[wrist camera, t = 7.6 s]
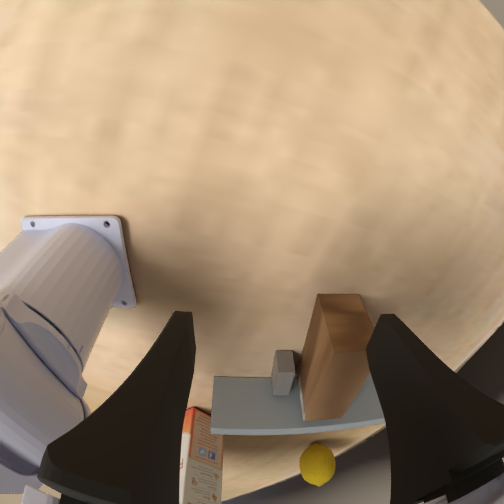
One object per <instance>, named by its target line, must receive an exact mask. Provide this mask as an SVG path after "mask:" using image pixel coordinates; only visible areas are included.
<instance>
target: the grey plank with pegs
mask: <svg viewBox="0 0 504 504" xmlns="http://www.w3.org/2000/svg"><path fill="white" fill-rule="evenodd" d="M294 375H295V367H294V360H293V353H292V351H276V353H275V359H274V364H273V369H272V375H271V376H272V378H244V377H217V376H214V384H213V397H212V411H211V426H210V428H211V434H223V435H287V434H305V433H317V432H328V431H337V430H345V429H352V428H359V427H365V426H371V425H377V424H382V423H385V419H384V415H383V411H382V408H381V405H380V402H379V398H378V395H377V392H376V389H375V386H374V383H373V380H372V377H371V373H369V374H368V376H367V378H366V380H365V381H364V383H363V385H362V386H361V388H360V390H359V391H358V393H357V395H356V396H355V398H354V400H353V401H352V403H351V404H350V406H349V408H348V409H347V411H346V412H345V414H344V415H343V417H342V418H336V419H327V420H315V421H303V416H302V409H301V401H300V394H299V387H298V380H297V377H294Z"/></svg>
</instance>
